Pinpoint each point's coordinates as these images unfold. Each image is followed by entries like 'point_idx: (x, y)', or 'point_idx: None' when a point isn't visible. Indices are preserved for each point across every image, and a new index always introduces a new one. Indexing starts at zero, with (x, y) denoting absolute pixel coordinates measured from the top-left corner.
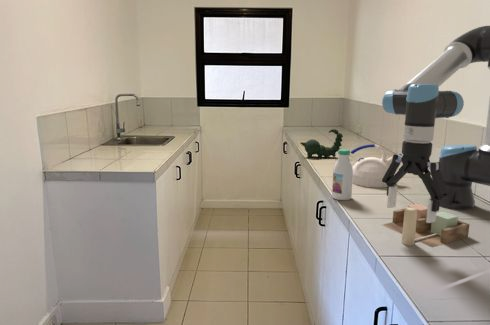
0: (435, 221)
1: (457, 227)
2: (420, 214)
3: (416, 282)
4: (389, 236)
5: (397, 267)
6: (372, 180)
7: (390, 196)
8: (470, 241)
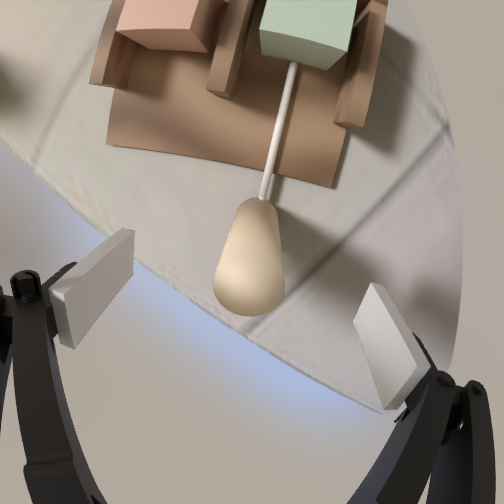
0: (280, 43)
1: (378, 54)
2: (195, 34)
3: (356, 369)
4: (175, 197)
5: (303, 351)
6: None
7: (103, 308)
8: (385, 32)
